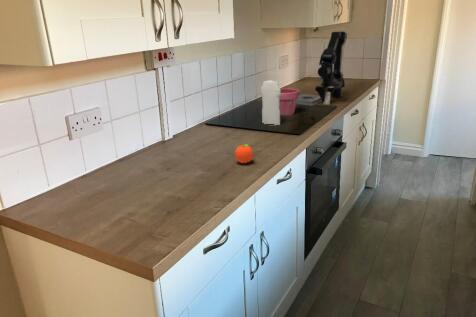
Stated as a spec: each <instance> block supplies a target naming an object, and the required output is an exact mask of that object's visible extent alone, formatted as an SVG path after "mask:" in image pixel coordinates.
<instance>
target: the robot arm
mask: <svg viewBox="0 0 476 317" xmlns="http://www.w3.org/2000/svg"><path fill="white" fill-rule="evenodd" d="M347 39H348V33H347V32H346V31H332V32H331V35H330V39H329V41H328V44H327V48H325V49H324V50H323V51H322V53H321V54H320V58H319V63H318V65H319V66H320V67H319V68H318V70H317V75H318V76H319V77H320V78H321V79H322V80H321V81H322V82H321V83H320V84H319V85H317V86H315V89H314V92H317V94H318V96H320V98H321V100H322V102H321V103H323V102H325V96H326V93H327V92H330V101H331V99H332V98H341V97H343V96H344V95H343V94H342V88H345V86H346V82H345V78H344V74H343V72H342V61H343V58H342V57H343V49H344V48H343V47H344V45H345V43H346V42H347V41H346V40H347Z"/></svg>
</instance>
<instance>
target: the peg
mask: <svg viewBox="0 0 476 317" xmlns="http://www.w3.org/2000/svg"><path fill="white" fill-rule="evenodd" d="M330 104H331V100H330V92H327V93H326V96H325V102H322V105H324V106H329V105H330Z"/></svg>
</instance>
